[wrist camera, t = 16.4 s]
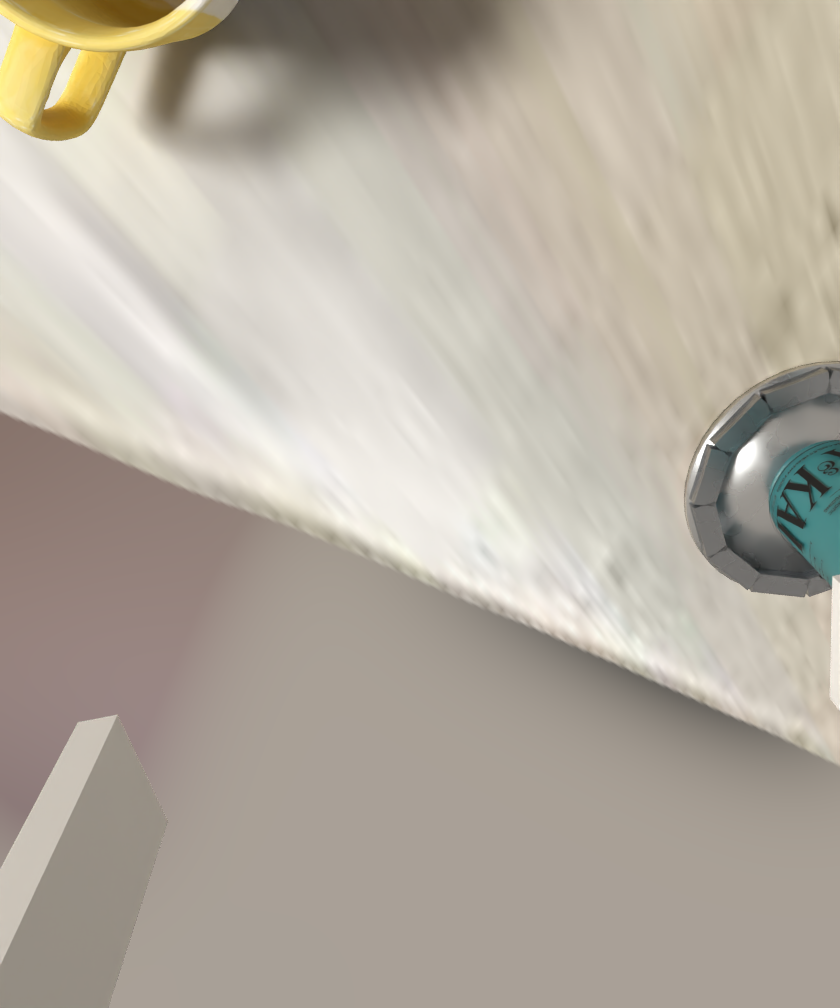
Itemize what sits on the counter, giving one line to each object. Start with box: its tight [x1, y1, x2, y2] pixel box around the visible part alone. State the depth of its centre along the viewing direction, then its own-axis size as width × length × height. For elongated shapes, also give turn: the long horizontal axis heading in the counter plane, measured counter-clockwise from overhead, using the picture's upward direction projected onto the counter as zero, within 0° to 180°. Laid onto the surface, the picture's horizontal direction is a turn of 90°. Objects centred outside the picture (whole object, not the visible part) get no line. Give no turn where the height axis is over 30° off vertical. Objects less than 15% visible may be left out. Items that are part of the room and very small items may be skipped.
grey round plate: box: [684, 361, 840, 597], centre depth 44 cm, size 14×14×1 cm
